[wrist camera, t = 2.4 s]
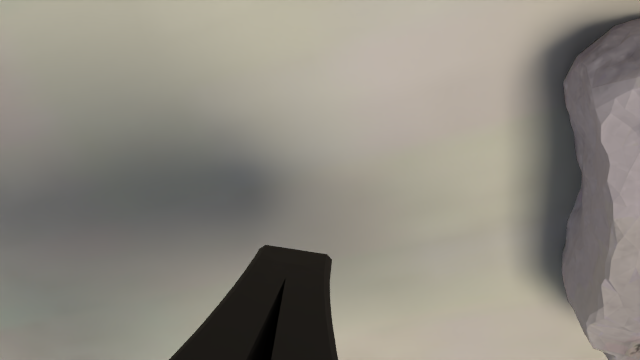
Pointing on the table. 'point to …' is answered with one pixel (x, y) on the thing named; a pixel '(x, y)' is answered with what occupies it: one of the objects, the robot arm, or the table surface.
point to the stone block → (606, 192)
